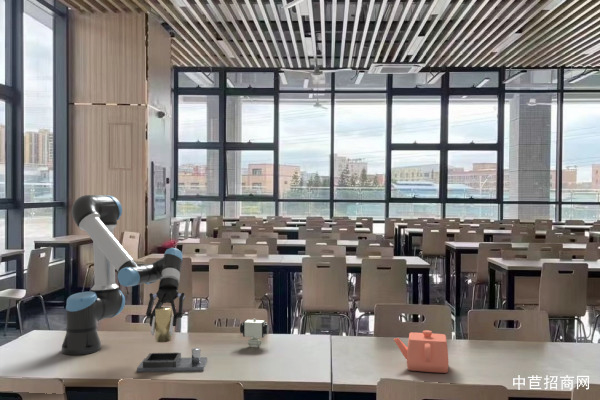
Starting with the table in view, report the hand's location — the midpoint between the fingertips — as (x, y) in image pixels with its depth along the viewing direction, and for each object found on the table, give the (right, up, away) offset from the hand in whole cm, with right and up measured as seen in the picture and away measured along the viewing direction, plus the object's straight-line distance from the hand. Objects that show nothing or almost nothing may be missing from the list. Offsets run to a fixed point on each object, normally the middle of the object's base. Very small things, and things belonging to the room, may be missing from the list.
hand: (161, 333), depth 198 cm
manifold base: (+3, -14, +4) cm, 15 cm away
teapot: (+97, -14, +4) cm, 98 cm away
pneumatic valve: (+32, -14, +32) cm, 47 cm away
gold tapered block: (0, -4, +4) cm, 5 cm away
